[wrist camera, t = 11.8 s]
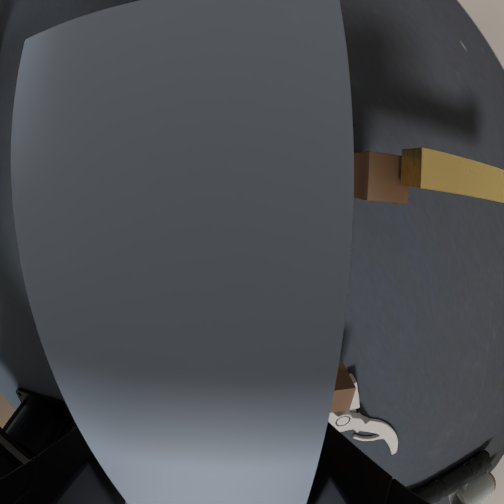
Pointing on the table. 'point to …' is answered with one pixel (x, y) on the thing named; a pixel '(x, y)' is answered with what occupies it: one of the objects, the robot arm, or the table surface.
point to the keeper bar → (451, 174)
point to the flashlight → (455, 479)
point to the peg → (190, 237)
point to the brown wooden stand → (373, 189)
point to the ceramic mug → (474, 490)
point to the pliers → (363, 423)
